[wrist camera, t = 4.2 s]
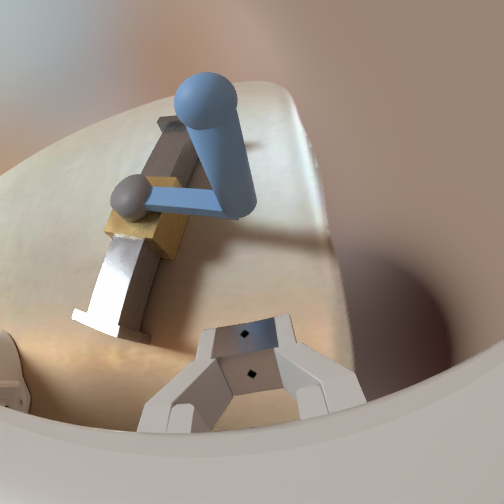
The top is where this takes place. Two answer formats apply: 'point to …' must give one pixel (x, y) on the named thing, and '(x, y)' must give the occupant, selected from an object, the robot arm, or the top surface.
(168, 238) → the valve pipe
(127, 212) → the lever
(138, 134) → the top surface
